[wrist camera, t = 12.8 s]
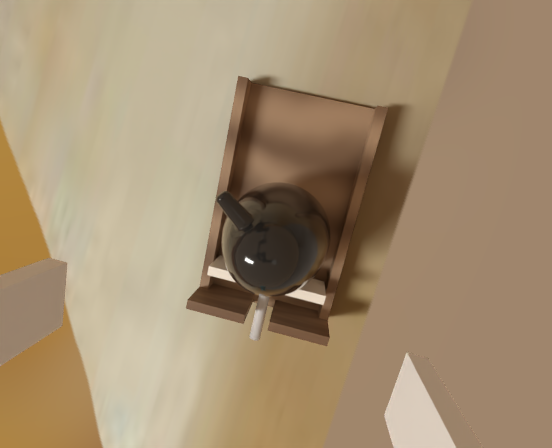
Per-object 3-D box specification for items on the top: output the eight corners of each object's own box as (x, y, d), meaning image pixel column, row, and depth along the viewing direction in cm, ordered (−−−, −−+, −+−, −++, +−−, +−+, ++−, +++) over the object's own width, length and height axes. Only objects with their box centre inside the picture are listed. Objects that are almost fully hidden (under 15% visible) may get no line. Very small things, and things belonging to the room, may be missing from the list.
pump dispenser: (293, 162, 33) (282, 145, 18) (344, 241, 34) (376, 288, 19) (218, 213, 34) (151, 237, 20) (269, 287, 35) (242, 366, 20)
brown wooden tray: (243, 82, 33) (229, 64, 27) (382, 112, 32) (398, 100, 26) (205, 286, 37) (186, 308, 32) (324, 317, 36) (327, 346, 31)
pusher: (220, 255, 35) (208, 266, 31) (324, 281, 35) (326, 296, 31) (208, 316, 37) (196, 333, 33) (307, 342, 36) (306, 364, 32)
